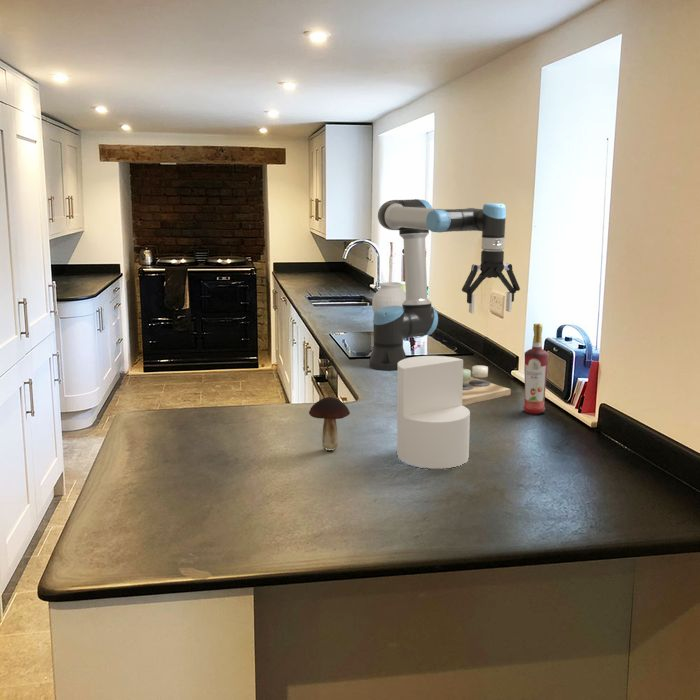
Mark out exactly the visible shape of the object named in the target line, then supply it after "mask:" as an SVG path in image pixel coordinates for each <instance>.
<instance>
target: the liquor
mask: <svg viewBox="0 0 700 700" xmlns="http://www.w3.org/2000/svg"><path fill="white" fill-rule="evenodd" d="M543 327H544V326H543V323H533V329H532V330H533V339H532V347H531V348H530V349H528V350H526V351H525V352H524V365H523V366H524V368H523V369H524V402H523V403H524V405H523V406H522V409H524V411H525V412H526V413H527V414H530V415H539V414H542V413H543V412H545V410H546V406H545V398H546V389H547V388H546V386H547V379H548V372H549V371H548V368H549V357H550V353H549V352H548V351H546V350H545V349H543V340H542V339H543V338H542V335H543Z"/></svg>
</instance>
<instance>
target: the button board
mask: <svg viewBox="0 0 700 700" xmlns="http://www.w3.org/2000/svg"><path fill="white" fill-rule="evenodd" d="M511 393H512V389H511V388H508V387H505V386H501V385H498V384H496V383H492V382H490V381H489V380H487V379H486V380H485V379H480V378H477V377H473V376H471V379H470V380H469V381H463V391H462V406H466V405H471V404H475V403H480V402H484V401H489V400H495V399H499V398H501V397H502V398H503V397H506V396H511V395H512V394H511Z"/></svg>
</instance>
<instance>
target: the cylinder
mask: <svg viewBox="0 0 700 700" xmlns="http://www.w3.org/2000/svg"><path fill="white" fill-rule="evenodd" d="M463 369H464V359H461V358H458V357H454V356H453V357H452V356H445V355H422V356H421V355H420V356H412V357H411V356H410V357H406V359H403V360H401V361H399V362H398V370H397V382H396V383H397V385H396V387H397V389H396V390H397V393H396V395H397V397H396V398H397V399H396V400H397V401H396V403H397V405H396V406H397V408H396V409H397V411H396V413H397V414H396V416H397V417H396V419H397V420H396V421H397V422H396V423H397V424H396V426H397V427H396V428H397V430H396V433H397V434H396V435H397V436H396V455H398V457H399V458H400V459H401V460H403V461H405V462H407V463H410V464H412V465H415V466H419V467H425V468H426V467H427V468H441V469H442V468H451V467H456V466H459V467H461V466H463V465H462V464H464V463H465V464H467V462H469V459H468V458H470V451H469V450H470V431H471V430H470V429H471V428H470V426H471V425H470V424H471V423H470V421H471V412H470V409H469V408H467V407H466V406H465V405H463V406H462V391H463ZM465 464H464V465H465ZM460 465H461V466H460ZM456 468H457V467H456Z"/></svg>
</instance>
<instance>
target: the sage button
mask: <svg viewBox="0 0 700 700" xmlns="http://www.w3.org/2000/svg"><path fill="white" fill-rule="evenodd" d="M471 377H472V369H471V370H470V369H468V368H463V381H469V380H470V379H471Z"/></svg>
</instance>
